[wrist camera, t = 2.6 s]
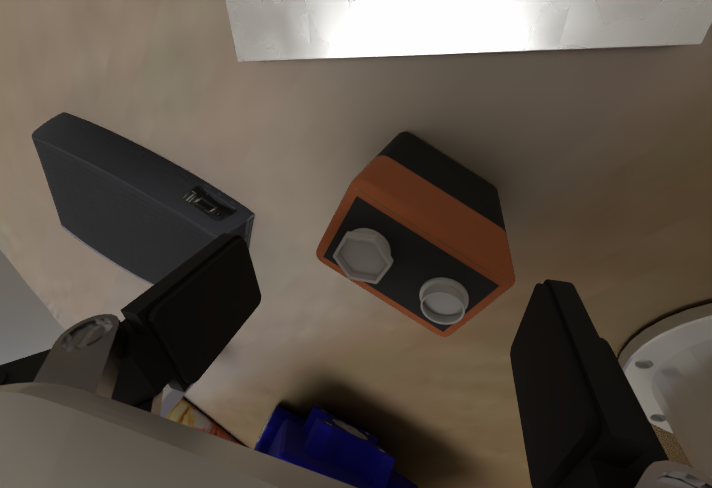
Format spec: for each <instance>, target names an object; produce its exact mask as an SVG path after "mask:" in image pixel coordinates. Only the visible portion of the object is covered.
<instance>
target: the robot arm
mask: <svg viewBox="0 0 712 488" xmlns="http://www.w3.org/2000/svg"><path fill="white" fill-rule="evenodd" d="M260 301H261V293H260V290H259V286H258V282H257V279H256V275H255V271H254V268H253V264H252V261H251V257H250V253H249V250H248V246H247V243H246V241H245V240H243V238H242V236H240V235H236V234H229V233H223V234H221V235H220V236H219V237H217V238H216V239H215V240H213V241H212V242H211V243H209V244H208V245H207V246H205V247H204V248H203V249H201V250H200V251H199V252H197V253H196V254H195V255H193V256H192V257H191V258H189V259H188V260H187V261H185V262H184V263H183V264H181V265H180V266H179V267H177V268H176V269H175V270H173V271H172V272H171V273H169V274H168V275H167V276H165V277H164V278H163V279H161V280H160V281H159V282H157V283H156V284H155V285H153V286H152V287H151V288H149V289H148V290H147V291H145V292H144V293H143V294H141V295H140V296H139V297H137V298H136V299H135V300H133V301H132V302H131V303H129V304H128V305H127V306H125V307H124V308H123V309H121V312H122V313H123V315H124V317H125V318H126V319H125V320H123V321H122V322H120V320H119V319H118V317H117V316H115V315H112V314H102V315H96V316H93V317H90V318H87V319H85V320H83V321H81V322H79V323H76V324H75V325H73V326H72V327H70V328H69V329H67V330H66V331H65V332H64V333H63V334H61V335H60V337H59V338H58V339H57V340H56V342H55V343H54V345H53V347H52V348H51V349H49V350H47V351H44V352H40V353H37V354H34V355H31V356H28V357H25V358H22V359H19V360H15V361H12V362H9V363H6V364H3V365H0V488H357V487H354V486H351V485H349V484H346V483H343V482H341V481H338V480H335V479H332V478H330V477H327V476H324V475H322V474H319V473H316V472H313V471H311V470H308V469H305V468H302V467H300V466H297V465H294V464H291V463H289V462H286V461H283V460H280V459H278V458H275V457H272V456H269V455H267V454H264V453H261V452H258V451H256V450H253V449H250V448H247V447H245V446H242V445H239V444H236V443H234V442H231V441H228V440H225V439H222V438H220V437H217V436H214V435H211V434H209V433H206V432H203V431H200V430H198V429H195V428H192V427H189V426H186V425H183V424H181V423H178V422H175V421H172V420H169V419H167V418H164V417H161V416H160V411H161V404H162V396H163V389H164V387H165V386H166V385H167V384H169V386H170V388H172V389H175V390H178V391H181V392H184V393H185V392H186V390H187V389H188V388H189V387H190V385H191V384H193V383H195V382H197V381H198V380H199V379H200V377H201V376H202V375H203V374H204V372H205V371H206V370H207V369H208V367H209V366H210V365H211V364H212V362H213V361H214V360H215V359H216V358H217V356H218V355H219V354H220V353H221V351H222V350H223V349H224V348H225V346H226V345H227V344H228V343H229V341H230V340H231V339H232V338H233V336H234V335H235V334H236V333H237V331H238V330H239V329H240V328H241V326H242V325H243V324H244V323H245V322H246V320H247V319H248V318H249V317H250V315H251V314H252V313H253V312H254V310H255V309H256V308H257V307H258V305H259V304H260ZM510 357H511V364H512V370H513V376H514V382H515V388H516V395H517V401H518V407H519V413H520V419H521V425H522V431H523V437H524V443H525V449H526V455H527V461H528V467H529V473H530V479H531V484H532V487H533V488H712V303H710V304H706V305H702V306H699V307H695V308H691V309H687V310H685V311H682V312H680V313H677V314H675V315H672V316H670V317H667V318H665V319H663V320H661V321H659V322H657V323H656V324H654V325H652V326H650V327H648V328H647V329H645V330H643V331H642V332H641V333H640V334H639V335H637V336H636V337H635V338H634V339H632V340H631V341H630V342H629V343H628V345H627V346H626V347H625V348H624V350H623V351H622V352H621V354H620V357H619V359H618V360H617V358H616V356H615V354H614V352H613V350H612V348H611V347H610V345H609V344H608V342H607V341H606V340H604V339H603V338H600V337H599V335H598V333H597V331H596V329H595V327H594V325H593V323H592V321H591V319H590V317H589V315H588V313H587V311H586V309H585V307H584V305H583V303H582V301H581V299H580V297H579V295H578V293H577V291H576V289H575V287H574V285H573V284H572V283H570V282H563V281H556V280H549V279H547V280H545V281H544V283H543V284H540V283H538V284H536V286H535V288H534V291H533V293H532V296H531V298H530V301H529V303H528V306H527V308H526V311H525V313H524V316H523V318H522V321H521V323H520V326H519V329H518V331H517V334H516V336H515V339H514V341H513V344H512V347H511V353H510ZM650 423H652V424H654V425H656V426H658V427H660V428H662V429H664V430H665V431H668V432H670V433H673V434H674V435H675V437H676V439H677V441H678V443H679V444H680V446H681V448H682V450H683V452H684V454H685V455H686V457H687V459H688V461H689V463H690V465H691V467H692V468H691V467H689V466H687V465H684V464H682V463H678V462H672V461H669V459H668V457H667V455H666V453H665V451H664V449H663V447H662V446H661V444H660V442H659V440H658V438H657V436H656V434H655V432H654V430H653V428H652V426H651V424H650Z"/></svg>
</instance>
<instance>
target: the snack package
mask: <svg viewBox="0 0 712 488" xmlns="http://www.w3.org/2000/svg"><path fill="white" fill-rule="evenodd" d="M165 418H167V419H169V420H172V421H175V422H178V423H181V424H183V425H186V426H189V427H192V428H195V429H198V430H200V431H203V432H206V433H209V434H211V435H214V436H217V437H220V438H222V439H225V440H228V441H231V442H234V443H236V444H239V445H242V444H240V443H239V442H238V441H236V440H235V439H234V438H233V437H231V436H230V435H229V434H228V433H227V432H225V431H224V430H223V429H222V428H220V427H219V426H218V425H216V424H215V423H214V422H213V421H212V420H210V419H209V418H208V417H207V416H205V415H204V414H202V413H201V412H200V411H199V410H198V409H196V408H195V407H194V406H192V405H191V404H190V403H189V402H188V401H186V400H185V399H184V398H183V397H182V398H181V399H180V401H179V402H178V403H177V404H176V405H175V407H174V408H173V409H172V410H171V411H170V413H169V414H168V415H167V416H166V417H165ZM242 446H243V445H242Z"/></svg>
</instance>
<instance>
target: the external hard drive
mask: <svg viewBox="0 0 712 488" xmlns="http://www.w3.org/2000/svg"><path fill="white" fill-rule="evenodd" d="M32 139H33V142H34V144H35V147H36V150H37V152H38V155H39V158H40V161H41V164H42V167H43V170H44V173H45V176H46V179H47V182H48V185H49V188H50V191H51V194H52V197H53V200H54V203H55V206H56V209H57V212H58V216H59V219H60V221H61V226H62V228H63V229H65V230H66V231H67V232H68V233H70V234H71V235H72V236H74V237H75V238H76V239H78V240H79V241H80V242H82V243H83V244H85V245H86V246H88V247H89V248H91V249H92V250H93V251H95V252H96V253H98V254H99V255H101V256H102V257H104V258H106V259H107V260H109V261H110V262H112V263H114V264H115V265H117V266H118V267H120V268H122V269H123V270H125V271H127V272H129V273H130V274H132V275H134V276H136V277H137V278H139V279H141V280H143V281H145V282H147V283H149V284H150V285H152V286H153V285H155V284H156V283H157V282H159V281H160V280H161V279H163V278H164V277H165V276H167V275H168V274H169V273H171V272H172V271H173V270H175V269H176V268H177V267H179V266H180V265H181V264H183V263H184V262H185V261H187V260H188V259H189V258H191V257H192V256H193V255H195V254H196V253H197V252H199V251H200V250H201V249H203V248H204V247H205V246H207V245H208V244H209V243H211V242H212V241H213V240H215V239H216V238H217V237H219V236H220V235H221V234H223V233H229V234H236V235H240V236H242V238H243V240H245V241H246V243H247V246H248V247H249V241H250V235H251V229H252V224H253V218H254V214H253V213H251V212H250V211H249V210H248V209H247V208H246V207H244V206H243V205H241V204H240V203H238V202H237V201H235V200H234V199H232V198H231V197H229V196H228V195H226V194H224V193H223V192H221V191H220V190H218V189H216V188H215V187H213V186H212V185H210V184H208V183H207V182H205V181H203V180H202V179H200V178H198V177H196V176H195V175H193V174H191V173H190V172H188V171H186V170H184V169H183V168H181V167H179V166H177V165H176V164H174V163H172V162H170V161H168V160H167V159H165V158H163V157H161V156H159V155H157V154H155V153H153V152H152V151H150V150H148V149H146V148H144V147H142V146H140V145H138V144H136V143H134V142H132V141H130V140H128V139H126V138H124V137H121V136H119V135H117V134H115V133H113V132H111V131H109V130H106V129H104V128H102V127H100V126H97V125H95V124H93V123H91V122H88V121H86V120H83V119H81V118H78V117H76V116H73V115H71V114H67V113H61V114H59V115H57V116H55V117H54V118H52V119H50V120H49V121H47V122H46V123H44V124H43V125H42V126H40V127H39V128H38V129H37V130H35V131H34V132H33V134H32Z"/></svg>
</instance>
